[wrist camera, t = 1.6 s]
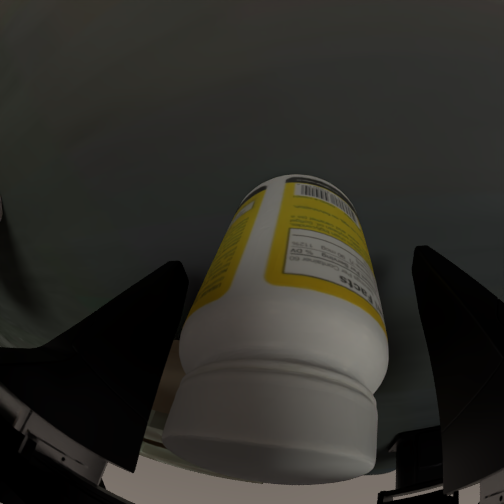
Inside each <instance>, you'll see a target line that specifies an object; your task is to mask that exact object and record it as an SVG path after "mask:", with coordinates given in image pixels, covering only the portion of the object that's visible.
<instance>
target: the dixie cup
mask: <svg viewBox="0 0 504 504" xmlns="http://www.w3.org/2000/svg"><path fill="white" fill-rule="evenodd" d="M1 219H2V202H1V197H0V221H1Z"/></svg>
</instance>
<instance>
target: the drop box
mask: <svg viewBox="0 0 504 504" xmlns="http://www.w3.org/2000/svg"><path fill="white" fill-rule="evenodd" d="M179 341H180V340H173V343H172V346H171V349H170V352H169V356H168V359H167V362H166V365H165V368H164V371H163V374H162V377H161V381H160V384H159V387H158V390H157V394H156V397H155V400H154V403H153V407H152V410H151V414H150V417H149V420H148V424H147V428H146V431H145V435H144V439H143V442H142V446H141V449H140V453H139V455H141V456H144V457H147V458H150V459H153V460H156V461H159V462H162V463H165V464H169V465H172V466H175V467H179V468H183V469H186V470H190V471H194V472H198V473H203V474H207V475H211V476H216V477H222V478H227V479H232V480H239V481H245V482H252V483H261V484H263V482H255V481H249V480H243V479H239V478H234V477H230V476H226V475H222V474H219V473H216V472H212V471H210V470H207V469H204V468H202V467H199V466H197V465H194V464H192V463H190V462H187V461H185V460H184V459H182V458H180V457H178V456H177V455H175V454H173V453H172V452H171V451H169V450H168V449H167V448H166V447H165V446H164V445H163V442H162V433H163V430H164V427H165V424H166V421H167V418H168V415H169V412H170V409H171V406H172V404H173V401H174V399H175V395H176V392H177V390H178V388H179V385H180V382H181V380H182V378H183V377H184V376H185V375H186V373H185V372H184V369H183V367H182V364H181V361H180V357H179Z"/></svg>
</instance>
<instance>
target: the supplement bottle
mask: <svg viewBox="0 0 504 504" xmlns="http://www.w3.org/2000/svg"><path fill="white" fill-rule="evenodd" d="M179 357H180V361H181V364H182V367H183V369H184V372H185V373H186V375H185V376H184V377H183V378H182V380H181V382H180V385H179V388H178V390H177V392H176V395H175V399H174V401H173V404H172V406H171V409H170V412H169V415H168V418H167V421H166V424H165V427H164V430H163V433H162V442H163V445H164V446H165V447H166V448H167V449H168V450H169V451H171V452H172V453H173V454H175V455H177V456H178V457H180V458H182V459H184V460H185V461H187V462H190V463H192V464H194V465H197V466H199V467H202V468H204V469H207V470H210V471H212V472H216V473H219V474H222V475H226V476H230V477H234V478H239V479H243V480H249V481H255V482H263V483H271V484H284V485H285V484H286V485H312V484H325V483H334V482H340V481H346V480H350V479H353V478H356V477H359V476H362V475H364V474H366V473H368V472H370V471H371V470H372V469H373V467H374V465H375V462H376V447H377V421H378V413H377V409H376V400H375V398H374V396H373V394H374V393H375V391H376V390H377V389H378V387H379V386H380V385H381V383H382V381H383V379H384V377H385V374H386V371H387V368H388V360H389V352H388V339H387V334H386V328H385V323H384V317H383V312H382V307H381V302H380V298H379V293H378V289H377V284H376V280H375V276H374V272H373V268H372V264H371V260H370V256H369V253H368V249H367V246H366V242H365V239H364V235H363V232H362V228H361V225H360V221H359V218H358V215H357V213H356V210H355V208H354V207H353V205H352V203H351V202H350V201H349V199H348V198H347V197H346V196H345V195H344V194H343V193H342V192H341V191H340V190H339V189H338V188H337V187H335V186H334V185H332V184H330V183H329V182H327V181H324V180H322V179H319V178H317V177H313V176H308V175H298V174H295V175H284V176H280V177H276V178H273V179H271V180H268V181H266V182H264V183H262V184H261V185H259V186H257V187H256V188H255V189H253V190H252V191H251V192H250V193H249V194H248V195H247V196H246V197H245V198H244V200H243V201H242V202H241V204H240V206H239V208H238V210H237V211H236V213H235V216H234V218H233V220H232V222H231V224H230V226H229V228H228V230H227V232H226V235H225V237H224V239H223V241H222V243H221V245H220V247H219V249H218V251H217V254H216V256H215V258H214V260H213V262H212V264H211V266H210V268H209V270H208V272H207V275H206V277H205V279H204V281H203V284H202V286H201V288H200V290H199V292H198V294H197V297H196V299H195V301H194V303H193V305H192V307H191V309H190V312H189V314H188V316H187V318H186V321H185V323H184V325H183V328H182V331H181V335H180V341H179Z"/></svg>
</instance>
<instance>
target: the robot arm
mask: <svg viewBox="0 0 504 504" xmlns="http://www.w3.org/2000/svg"><path fill="white" fill-rule="evenodd" d="M412 276H413V281H414V286H415V291H416V297H417V303H418V309H419V314H420V318H421V322H422V326H423V330H424V334H425V338H426V342H427V347H428V351H429V356H430V361H431V366H432V371H433V376H434V382H435V388H436V394H437V401H438V408H439V416H440V425H441V427H436V428H431V429H426V430H421V431H415V432H409V433H403V434H400V435H399V436H398V437H397V438H396V440H395V441H394V442H393V443H392V445H391V446H390V447H389V448H388V452H395V451H396V490H391V491H381V492H380V493H378V500H377V504H459V498H458V497H459V496H458V495H459V491H458V490H461V489H464V488H467V487H470V486H472V485H475V484H478V483H480V502H479V503H478V504H504V303H503V302H502V301H501V300H500V299H498V298H497V297H496V296H495V295H494V294H492V293H491V292H490V291H489V290H488V289H486V288H485V287H484V286H482V285H481V284H480V283H479V282H477V281H476V280H475V279H473V278H472V277H471V276H469V275H468V274H467V273H465V272H464V271H463V270H461V269H460V268H459V267H457V266H456V265H455V264H453V263H452V262H450V261H449V260H448V259H446V258H445V257H443V256H442V255H441V254H439V253H438V252H436V251H435V250H433V249H432V248H430V247H429V246H427V245H424V246H416V248H415V250H414V257H413V264H412ZM188 285H189V280H188V277H187V274H186V272H185V270H184V267H183V265H182V263H181V262H180V261H169V262H167V263H166V264H164V265H163V266H161V267H160V268H158V269H157V270H155V271H154V272H152V273H151V274H149V275H148V276H146V277H145V278H143V279H142V280H140V281H139V282H137V283H136V284H134V285H133V286H131V287H130V288H128V289H127V290H125V291H124V292H123V293H121V294H120V295H118V296H117V297H115V298H114V299H112V300H111V301H109V302H108V303H107V304H105V305H104V306H102V307H101V308H99V309H98V310H97V311H95V312H94V313H92V314H91V315H89V316H88V317H86V318H85V319H84V320H82V321H81V322H79V323H78V324H76V325H75V326H73V327H71V328H70V329H68V330H67V331H65V332H64V333H62V334H60V335H59V336H57V337H56V338H54V339H53V340H51V341H50V342H48V343H46V344H45V345H43V346H40V347H37V348H32V349H26V348H5V347H0V503H3V504H135V503H132V502H130V501H128V500H126V499H123V498H122V497H119V496H117V495H115V494H113V493H111V492H110V491H108V490H106V488H105V485H104V483H103V480H102V476H103V473H104V471H105V468H106V466H107V463H108V462H109V463H111V464H113V465H115V466H117V467H120V468H122V469H124V470H127V471H129V472H132V473H134V471H135V468H136V464H137V460H138V457H139V453H140V449H141V446H142V442H143V439H144V435H145V431H146V428H147V424H148V420H149V417H150V414H151V410H152V407H153V403H154V400H155V397H156V394H157V390H158V387H159V384H160V381H161V377H162V374H163V371H164V368H165V365H166V362H167V359H168V356H169V352H170V349H171V346H172V343H173V340H174V337H175V334H176V331H177V328H178V326H179V322H180V319H181V315H182V311H183V306H184V302H185V298H186V293H187V289H188ZM440 486H443V489H442V490H438V491H434V492H431V493H427V494H423V495H418V496H414V497H410V498H404V499H399V500H394V501H393V497H397V496H403V495H408V494H412V493H417V492H421V491H425V490H429V489H433V488H436V487H440ZM451 494H453V496H450V495H451ZM448 495H449V496H448Z"/></svg>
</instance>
